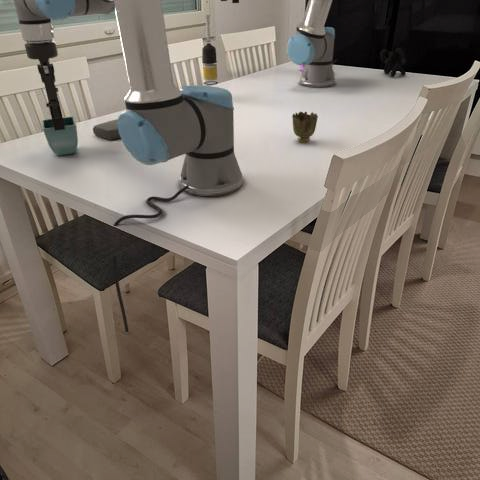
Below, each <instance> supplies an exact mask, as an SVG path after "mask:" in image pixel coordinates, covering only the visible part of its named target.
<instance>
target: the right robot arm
mask: <svg viewBox="0 0 480 480" xmlns="http://www.w3.org/2000/svg"><path fill="white" fill-rule="evenodd" d="M227 1H228V0H220V2H227ZM231 2H232V4H239V3H240V0H231ZM332 3H333V0H308V2H307V5H306V8H305V11H304V15H303V18H302V20H301V22H298V23H297V26H296V28H295V32H294V35H292V36H291V37H290V38H289V40H288V42H287V44H286V53H287V56H288V58H289V60H291V62H292V63H293V64H295V65H297V66H300V65H305V66H304V69H303V71H301V75H300V78H299V85H301V86H303V87H309V88H327V87H328V88H329V87H333V86H334V85H335V84H336V83H335V82H336V78H335V72H334V68H333V65H334V64H336V63H339V60H338V59H335V60H334V59H333V57H334V48H335V38H336V33H335V32H336V30H335V28H334V27H332V26H331V27H330V26H325V24H326V21H327V19H328V15H329V12H330V9H331V7H332Z"/></svg>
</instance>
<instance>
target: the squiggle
mask: <svg viewBox="0 0 480 480" xmlns="http://www.w3.org/2000/svg"><path fill="white" fill-rule="evenodd" d="M385 55H386V56H385ZM387 56H388V57H387ZM379 57H380V61H381V62H382V63H384V64H385V65H384V67H383V73H384V74H385V75H390V77H392V78H394V77H395V76H396V75H397V72H399V73H400V74H401V76H405V75H406V73H407V72H406V71H405V69H404V68H403V67H402V66H404V65H405V64H406V61H407V60H406V57H405V54H404V51H403V49H402V48H400V47H397V48H396V49H395V54H394V51H389V50H387V49H382V50H381V51H380V53H379ZM399 59H400V62H398V60H399Z"/></svg>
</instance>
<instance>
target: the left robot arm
mask: <svg viewBox="0 0 480 480" xmlns="http://www.w3.org/2000/svg"><path fill="white" fill-rule="evenodd" d="M13 4H14V7H15V8H14V9H15V12H16V16H17V20H18V26H19V29H20V34H21V38H22V41H24V42H25V43H24V49H25V51H26V56H27V58H28V59H30V60H34V61H35V60H38V61H39V64H36V66H37V71H38V74H39V75H40V79H41V83H42V84H44V89H45V93H46V97H47V101H48V102H47V103H45V107H46V108H49V112H50V116H51V119H52V121H53V125H54V129H55V131H56V130H64V129H65V126H64V121H63V118H64V117H63V112H62V108H61V104H60V101H59V98H58V92H59V88H58V87H56V84H55V83H56V81H57V80H56V76H55V66H54V63H50V59H55V58H57V57H58V55H59V52H58V48H57V43H56V41H55V40H54V39H55V36H54V31H55V30H56V27H55V25H52V20H53V21H59V20H66V19H69V18H72V17H82V16H93V15H109V14H112V13H115V17H116V21H117V27H118V31H119V36H120V37H119V38H120V42H121V47H122V53H123V58H124V63H125V69H126V74H127V78H128V84H129V91H128V92H127V94H126V95H125V97H124V104H125V110H124V111H122V112H121V113H120V114H119V116H118V118H117V119H119V120H118V130H119V134H120V139H121V142H122V144H123V145H124V147H125V149H126V151H127V152H128V153H129V154H130V156H131V157H132V158H133V159H134V160H135V161H137V162H139V163H141V164H143V165H145V166H153V165H158V164H161V163H167V162H168V161H170V160H173V159H175V158H178V157H180V156H183V155H184V158H183V164H182V168H181V171H180V176H179V183H180V184H179V185H180V188H181V189H179V190H178V191H176V192H175V194H174V195H172V196H171V197H167V198H166V197H160V196H150V197H148V198H147V199H145V203H146V204H147V206H149V207H151V208H153V209H154V210H157V211H158V212H157V213H155V214H127V215H124V216H122V217H119V218H118V219H117V220H116V221H114V223H113V225H112V226H113V227H117V226H118V225H119V224H120V223H121V222H123V221H125V220H129V219H156V218H158V217H160V216H161V215H162V214H163V209H162V208H161V207H159V206H158V205H157V204H154V203H152V202H151V201H153V200H155V201H159V202H172V201H174V200H175V199H176V198H178V196H180V195H181V194H182V193H184V192H186V193H187V194H190V195H194V196H199V197H221V196H224V195H229V194H232V193H234V192H235V191H237V190H239V189H240V188H241V187H242V185H243V174H242V171H241V168H240V165H239V163H238V160H237V157H236V154H235V132H234V131H235V129H234V127H235V126H234V123H235V121H234V110H235V108H234V102H233V96H232V93H231V91H229V90H228V89H226V88H223V87H218V86H213V85H184V86H182V87H180V88H178V87H177V86H176V85H175V83H174V79H173V73H172V66H171V58H170V57H171V56H170V51H169V45H168V43H169V42H168V36H167V31H166V23H165V17H164V10H163V9H164V8H163V3H162V0H13ZM112 268H113V276H114V284H115V289H116V294H117V299H118V303H119V307H120V312H121V316H122V320H123V325H124V331H125V333H128V332H129V326H128V320H127V315H126V310H125V307H124V306H125V305H124V302H123V298H122V293H121V287H120V283H119V277H118V266H117V256H116V255H112Z"/></svg>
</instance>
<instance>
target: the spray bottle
mask: <svg viewBox="0 0 480 480" xmlns="http://www.w3.org/2000/svg"><path fill="white" fill-rule="evenodd" d="M118 120H119V119H118V118H116V119H112V120H107V121H105V122H102V123H98V124H95V125H94V126H93V127H92V131H93V134H94V135H95V136H96V137H99V138H102V139H105V140H110V141H111V140H116V139H121V137H120V134H119V130H118Z"/></svg>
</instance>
